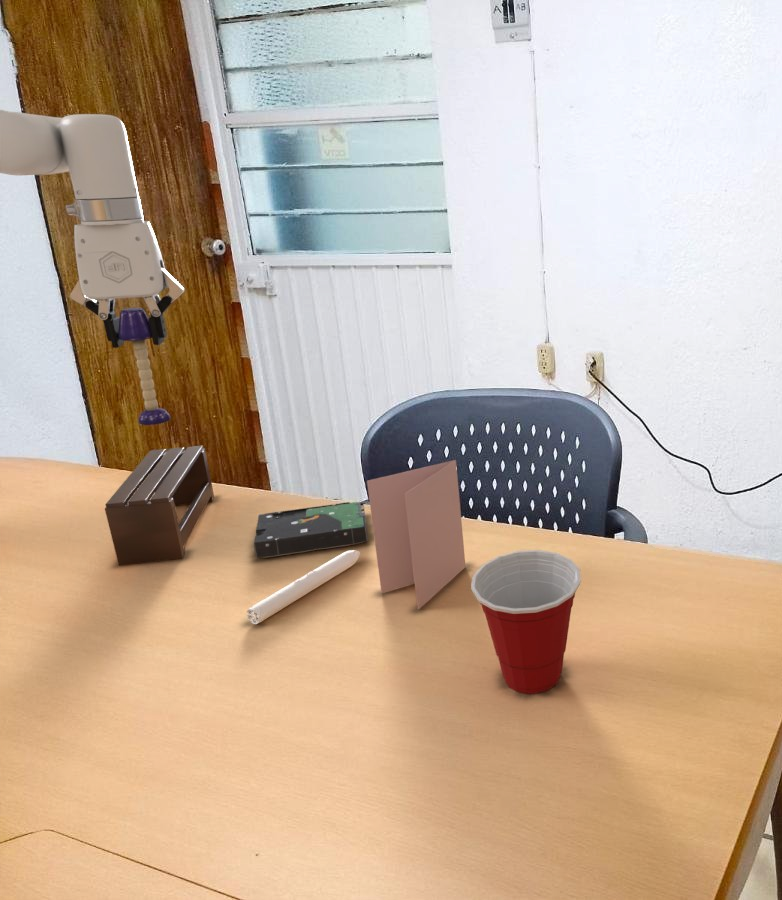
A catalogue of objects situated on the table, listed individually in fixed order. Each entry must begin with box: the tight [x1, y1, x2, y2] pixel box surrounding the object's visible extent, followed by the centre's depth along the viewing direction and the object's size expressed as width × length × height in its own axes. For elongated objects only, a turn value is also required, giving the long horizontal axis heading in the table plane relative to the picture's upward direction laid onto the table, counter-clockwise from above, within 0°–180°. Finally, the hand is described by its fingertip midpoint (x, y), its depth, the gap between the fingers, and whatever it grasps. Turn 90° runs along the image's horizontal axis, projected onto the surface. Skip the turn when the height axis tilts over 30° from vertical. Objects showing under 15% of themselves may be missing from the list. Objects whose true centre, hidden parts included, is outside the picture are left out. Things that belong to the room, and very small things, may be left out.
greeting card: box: [366, 459, 467, 611], centre depth 101 cm, size 11×7×15 cm, turn 124°
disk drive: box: [253, 501, 369, 559], centre depth 118 cm, size 10×3×15 cm
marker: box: [246, 549, 361, 625], centre depth 103 cm, size 18×2×2 cm, turn 154°
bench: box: [104, 445, 215, 566], centre depth 121 cm, size 8×22×9 cm, turn 13°
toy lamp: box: [118, 307, 172, 426], centre depth 120 cm, size 5×5×17 cm
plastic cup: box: [470, 549, 582, 695], centre depth 83 cm, size 11×11×12 cm
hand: (138, 343), depth 118 cm, fingers closed on toy lamp, 4 cm apart
